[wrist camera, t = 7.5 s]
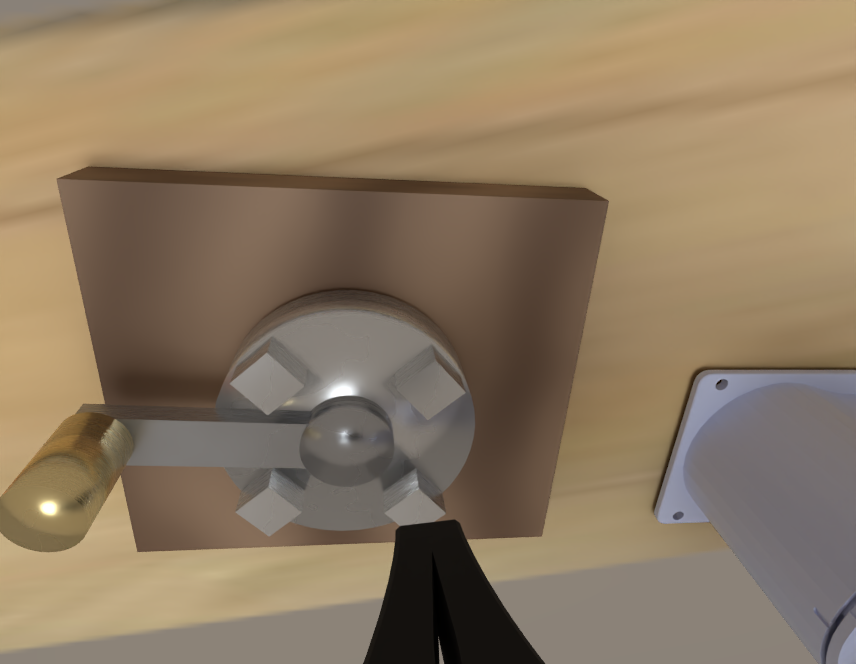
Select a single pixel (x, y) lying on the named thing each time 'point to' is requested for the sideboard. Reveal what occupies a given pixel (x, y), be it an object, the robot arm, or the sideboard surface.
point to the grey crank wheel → (280, 428)
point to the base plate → (329, 271)
